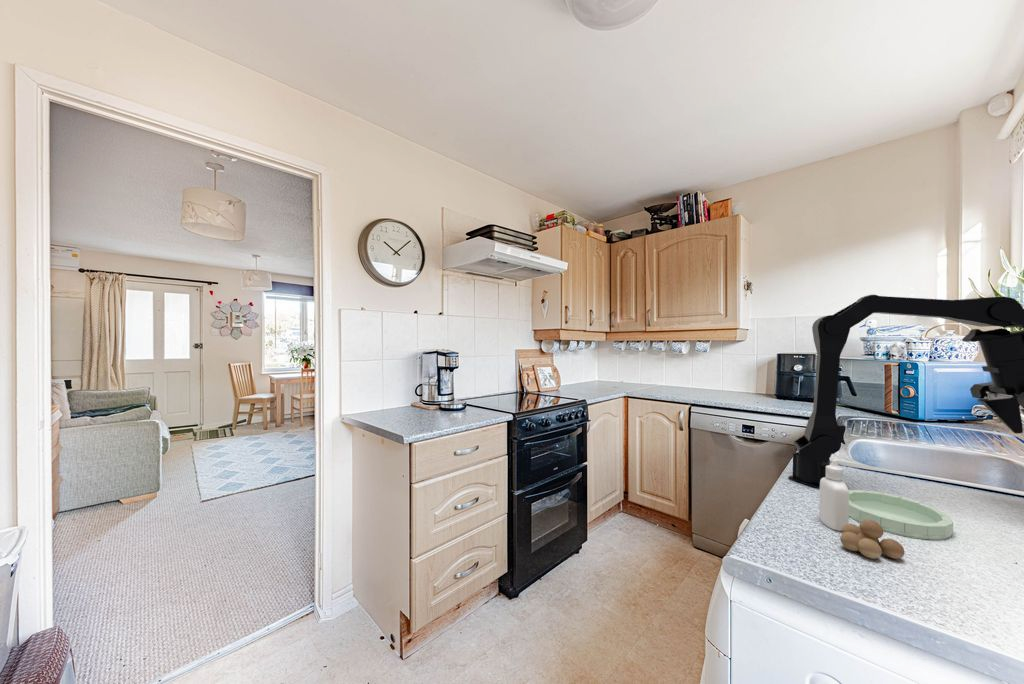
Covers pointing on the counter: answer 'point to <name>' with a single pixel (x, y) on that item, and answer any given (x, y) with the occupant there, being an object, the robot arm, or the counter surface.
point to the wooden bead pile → (870, 540)
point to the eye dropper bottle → (834, 498)
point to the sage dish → (900, 515)
